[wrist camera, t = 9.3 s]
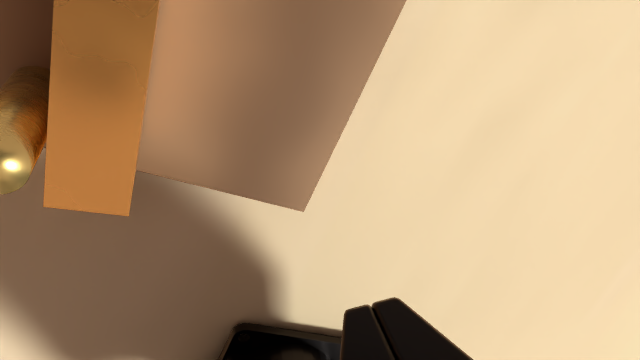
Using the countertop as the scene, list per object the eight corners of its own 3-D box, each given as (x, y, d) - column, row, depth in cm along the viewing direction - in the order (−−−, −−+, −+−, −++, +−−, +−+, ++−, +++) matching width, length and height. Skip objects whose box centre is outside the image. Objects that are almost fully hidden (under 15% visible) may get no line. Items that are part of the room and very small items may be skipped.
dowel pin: (76, 64, 17) (36, 145, 12) (66, 109, 18) (24, 201, 13) (20, 47, 16) (-44, 125, 12) (12, 94, 17) (-52, 185, 12)
